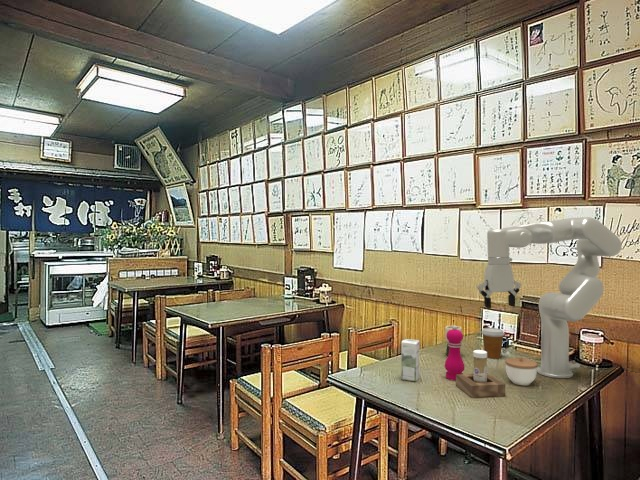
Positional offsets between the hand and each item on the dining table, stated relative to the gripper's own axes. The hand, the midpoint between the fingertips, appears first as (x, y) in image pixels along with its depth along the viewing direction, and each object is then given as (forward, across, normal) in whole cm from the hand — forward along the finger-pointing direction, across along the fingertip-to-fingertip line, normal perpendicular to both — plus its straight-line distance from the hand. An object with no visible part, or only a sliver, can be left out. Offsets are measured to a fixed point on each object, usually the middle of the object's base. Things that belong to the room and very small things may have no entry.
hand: (499, 306), depth 166 cm
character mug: (+27, +5, -30) cm, 41 cm away
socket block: (+26, +15, +11) cm, 33 cm away
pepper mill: (+27, +18, -3) cm, 32 cm away
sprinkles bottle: (+26, +15, +11) cm, 32 cm away
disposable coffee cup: (+28, -12, -27) cm, 40 cm away
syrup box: (+26, +35, -4) cm, 44 cm away
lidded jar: (+27, -4, +6) cm, 28 cm away
